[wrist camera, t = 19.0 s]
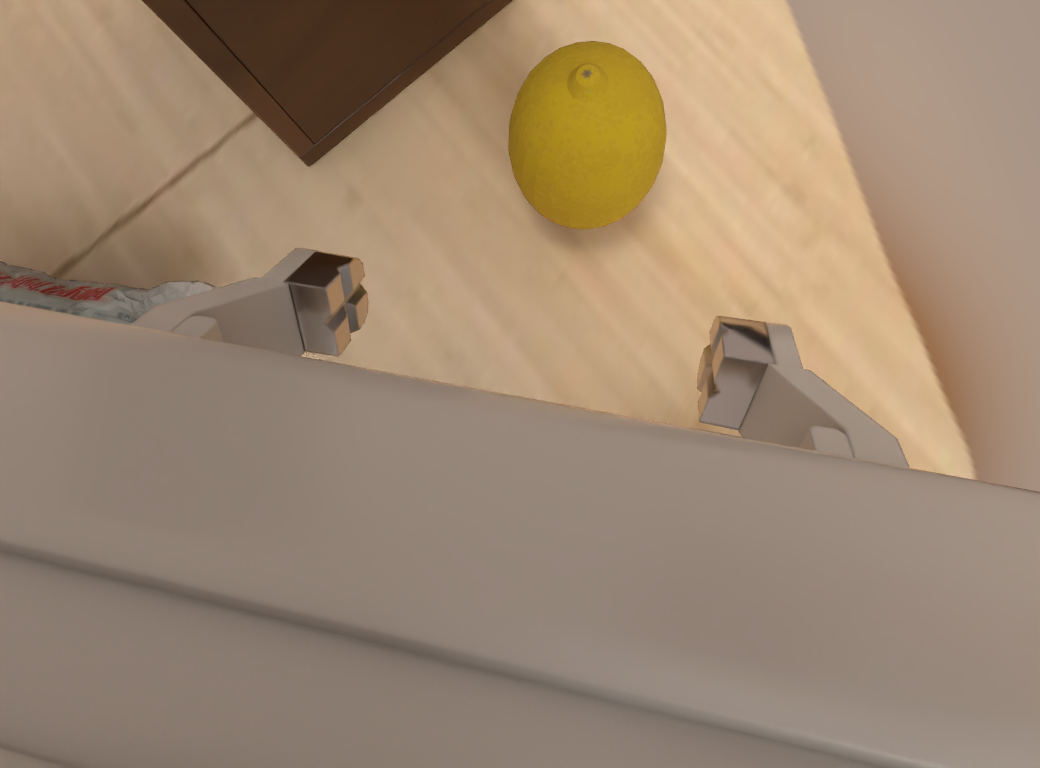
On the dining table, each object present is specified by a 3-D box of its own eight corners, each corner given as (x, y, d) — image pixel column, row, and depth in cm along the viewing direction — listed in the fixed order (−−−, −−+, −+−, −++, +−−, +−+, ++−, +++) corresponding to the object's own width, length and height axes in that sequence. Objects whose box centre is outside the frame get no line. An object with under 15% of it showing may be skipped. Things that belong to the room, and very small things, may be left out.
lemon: (642, 123, 24) (673, -30, 16) (657, 247, 24) (696, 151, 16) (515, 141, 25) (485, 1, 17) (526, 263, 24) (500, 178, 16)
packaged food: (17, 256, 27) (-110, 217, 22) (246, 297, 25) (166, 266, 20) (-29, 437, 26) (-169, 439, 21) (203, 489, 25) (111, 504, 20)
